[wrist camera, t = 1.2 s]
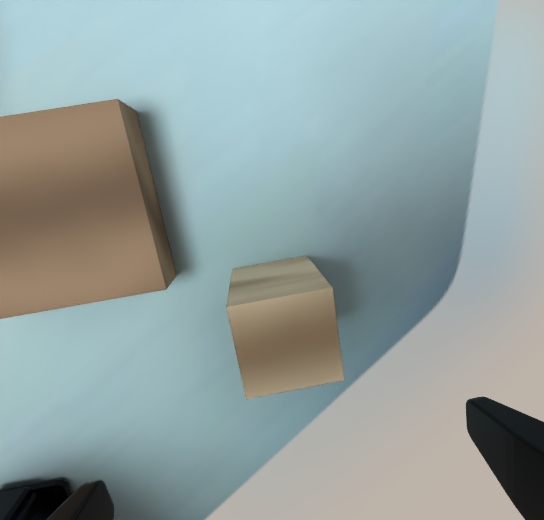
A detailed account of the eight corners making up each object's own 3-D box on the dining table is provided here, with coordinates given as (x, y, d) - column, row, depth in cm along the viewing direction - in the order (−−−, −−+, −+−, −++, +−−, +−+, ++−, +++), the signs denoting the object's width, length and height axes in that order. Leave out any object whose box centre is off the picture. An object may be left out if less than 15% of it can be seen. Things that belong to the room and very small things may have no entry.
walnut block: (178, 273, 19) (166, 289, 16) (25, 299, 19) (-14, 321, 16) (139, 113, 17) (117, 99, 14) (-34, 139, 17) (-93, 131, 14)
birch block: (316, 323, 20) (344, 380, 15) (246, 336, 20) (246, 399, 14) (306, 255, 19) (332, 287, 14) (232, 268, 19) (226, 307, 13)
